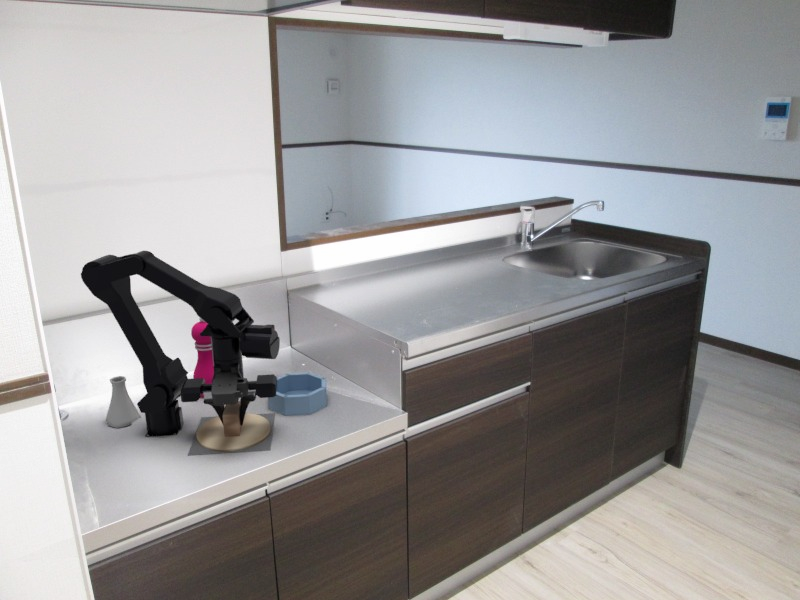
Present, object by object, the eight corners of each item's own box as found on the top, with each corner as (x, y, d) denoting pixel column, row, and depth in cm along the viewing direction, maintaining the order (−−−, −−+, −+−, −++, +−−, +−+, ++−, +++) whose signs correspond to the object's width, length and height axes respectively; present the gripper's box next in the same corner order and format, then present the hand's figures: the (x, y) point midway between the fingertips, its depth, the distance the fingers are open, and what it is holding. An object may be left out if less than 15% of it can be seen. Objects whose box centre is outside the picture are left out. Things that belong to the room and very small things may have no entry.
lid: (190, 454, 125) (187, 427, 124) (203, 418, 140) (200, 394, 138) (267, 448, 127) (266, 422, 126) (272, 414, 142) (271, 390, 140)
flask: (130, 409, 145) (125, 369, 142) (147, 419, 141) (142, 377, 138) (99, 421, 140) (93, 379, 137) (116, 432, 135) (109, 389, 132)
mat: (187, 458, 125) (187, 455, 125) (201, 419, 140) (201, 417, 140) (270, 452, 127) (270, 450, 127) (275, 415, 142) (275, 413, 142)
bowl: (267, 419, 141) (266, 398, 139) (271, 393, 153) (270, 374, 151) (327, 415, 142) (326, 395, 141) (326, 390, 155) (325, 371, 153)
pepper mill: (232, 392, 154) (226, 313, 148) (209, 403, 148) (201, 322, 142) (212, 385, 157) (204, 308, 151) (188, 396, 152) (179, 316, 146)
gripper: (170, 374, 120) (179, 447, 124) (271, 369, 122) (276, 441, 126) (182, 352, 130) (190, 420, 135) (275, 348, 132) (279, 415, 137)
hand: (233, 425), depth 133 cm, fingers closed on lid, 3 cm apart
